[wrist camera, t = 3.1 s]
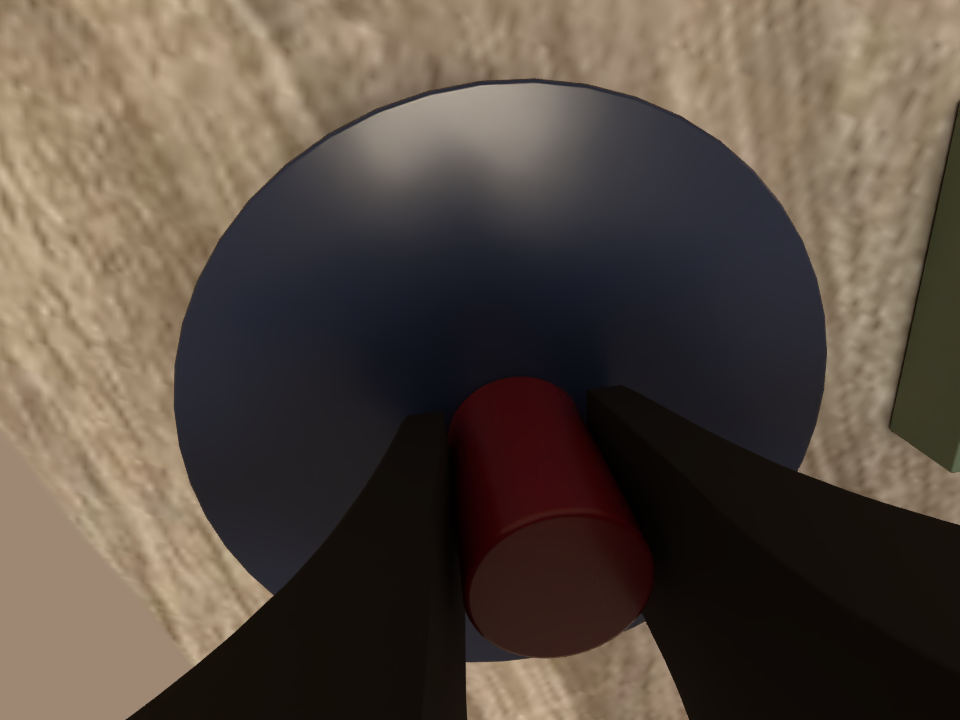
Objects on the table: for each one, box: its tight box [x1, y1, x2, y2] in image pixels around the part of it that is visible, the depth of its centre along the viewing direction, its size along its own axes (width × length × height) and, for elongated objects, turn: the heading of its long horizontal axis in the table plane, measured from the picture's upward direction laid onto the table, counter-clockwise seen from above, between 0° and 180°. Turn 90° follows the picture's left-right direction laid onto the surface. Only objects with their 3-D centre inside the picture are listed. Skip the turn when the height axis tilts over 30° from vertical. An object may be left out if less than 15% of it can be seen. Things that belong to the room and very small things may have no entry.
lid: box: [174, 79, 827, 662], centre depth 9 cm, size 11×11×5 cm
